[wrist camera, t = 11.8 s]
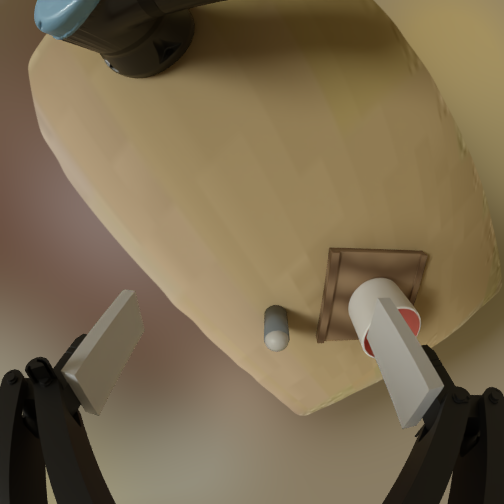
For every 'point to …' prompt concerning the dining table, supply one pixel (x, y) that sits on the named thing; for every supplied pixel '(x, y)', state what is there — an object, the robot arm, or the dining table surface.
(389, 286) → the cup
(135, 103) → the dining table surface
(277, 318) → the shaker
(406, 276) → the board
